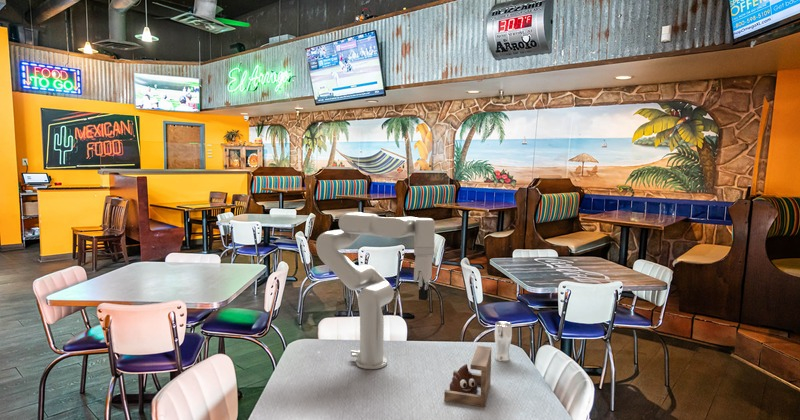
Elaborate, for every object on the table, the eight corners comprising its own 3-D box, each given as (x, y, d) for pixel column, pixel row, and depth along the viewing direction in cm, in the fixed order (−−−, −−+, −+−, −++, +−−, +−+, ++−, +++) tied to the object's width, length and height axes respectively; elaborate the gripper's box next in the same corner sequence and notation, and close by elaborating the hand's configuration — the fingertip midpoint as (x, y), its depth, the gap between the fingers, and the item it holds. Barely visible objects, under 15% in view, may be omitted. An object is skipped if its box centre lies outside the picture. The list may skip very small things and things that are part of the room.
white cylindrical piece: (511, 363, 181) (512, 326, 180) (494, 361, 182) (494, 325, 181) (510, 356, 188) (511, 321, 187) (493, 355, 189) (494, 320, 188)
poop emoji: (471, 383, 162) (472, 358, 161) (481, 394, 154) (482, 368, 153) (445, 386, 159) (446, 361, 159) (455, 397, 151) (455, 371, 150)
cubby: (444, 400, 149) (445, 361, 148) (453, 378, 166) (454, 343, 165) (485, 407, 145) (486, 366, 144) (490, 383, 162) (491, 347, 161)
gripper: (419, 247, 174) (418, 294, 175) (409, 253, 159) (408, 303, 161) (438, 248, 172) (437, 295, 173) (429, 254, 157) (428, 305, 158)
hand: (423, 299), depth 167 cm, fingers closed
